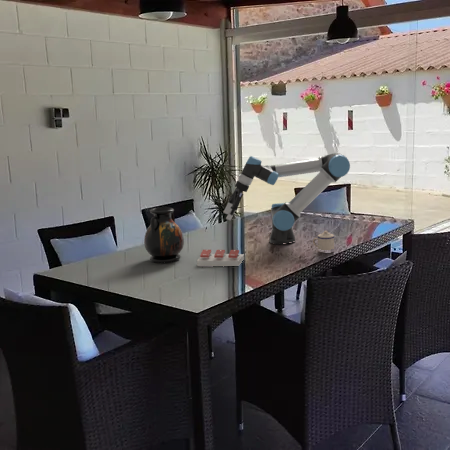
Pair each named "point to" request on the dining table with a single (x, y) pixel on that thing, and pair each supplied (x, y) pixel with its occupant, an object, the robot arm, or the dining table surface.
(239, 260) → the power strip
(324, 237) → the teacup with lid
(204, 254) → the rocker
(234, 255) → the rocker
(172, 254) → the amphora vase
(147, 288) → the dining table surface
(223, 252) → the rocker
